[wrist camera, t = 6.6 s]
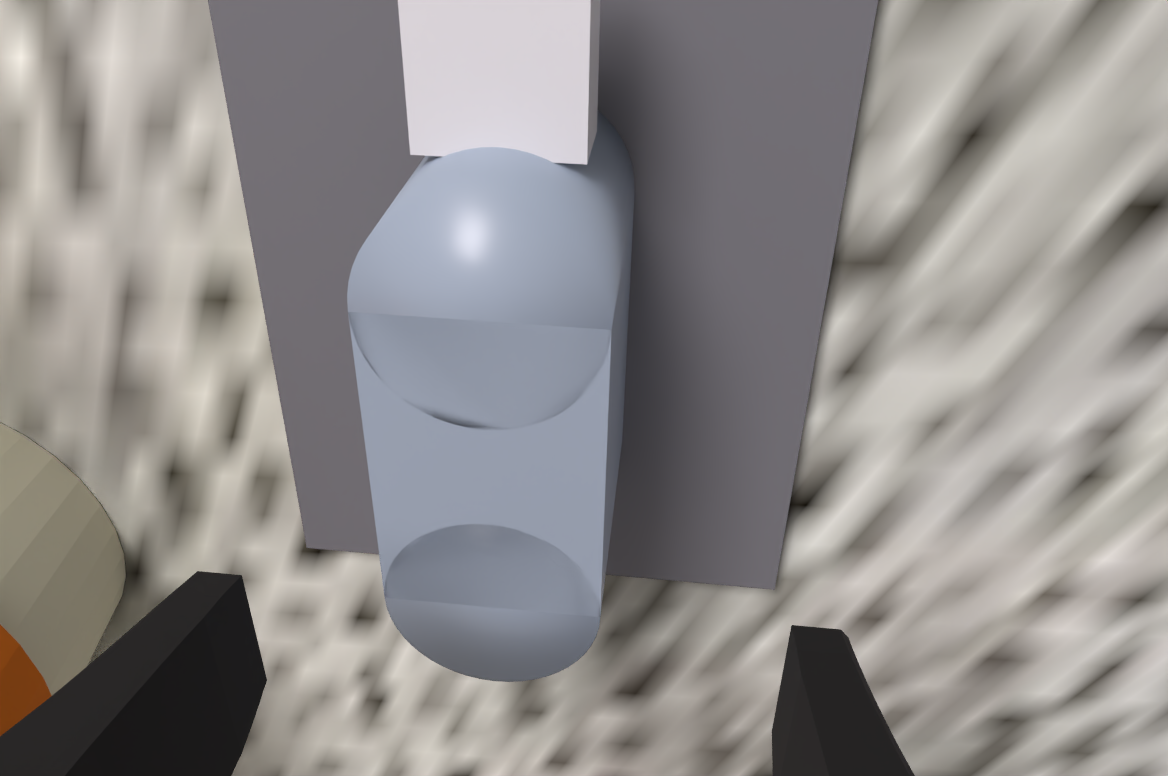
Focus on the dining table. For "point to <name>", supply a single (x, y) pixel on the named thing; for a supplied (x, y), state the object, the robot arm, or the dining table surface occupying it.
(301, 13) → the mat
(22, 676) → the reusable coffee cup
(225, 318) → the dining table surface
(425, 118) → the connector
